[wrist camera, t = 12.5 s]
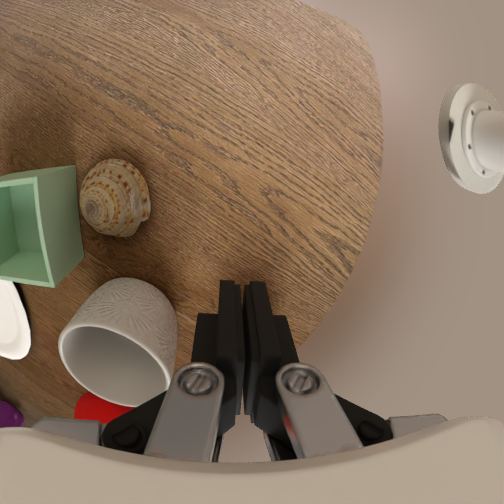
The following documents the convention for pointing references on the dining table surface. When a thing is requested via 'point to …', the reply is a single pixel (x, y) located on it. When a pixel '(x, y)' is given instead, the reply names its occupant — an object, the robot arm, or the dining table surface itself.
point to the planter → (122, 342)
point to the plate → (13, 323)
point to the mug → (10, 416)
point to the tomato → (98, 408)
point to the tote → (39, 226)
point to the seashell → (114, 198)
